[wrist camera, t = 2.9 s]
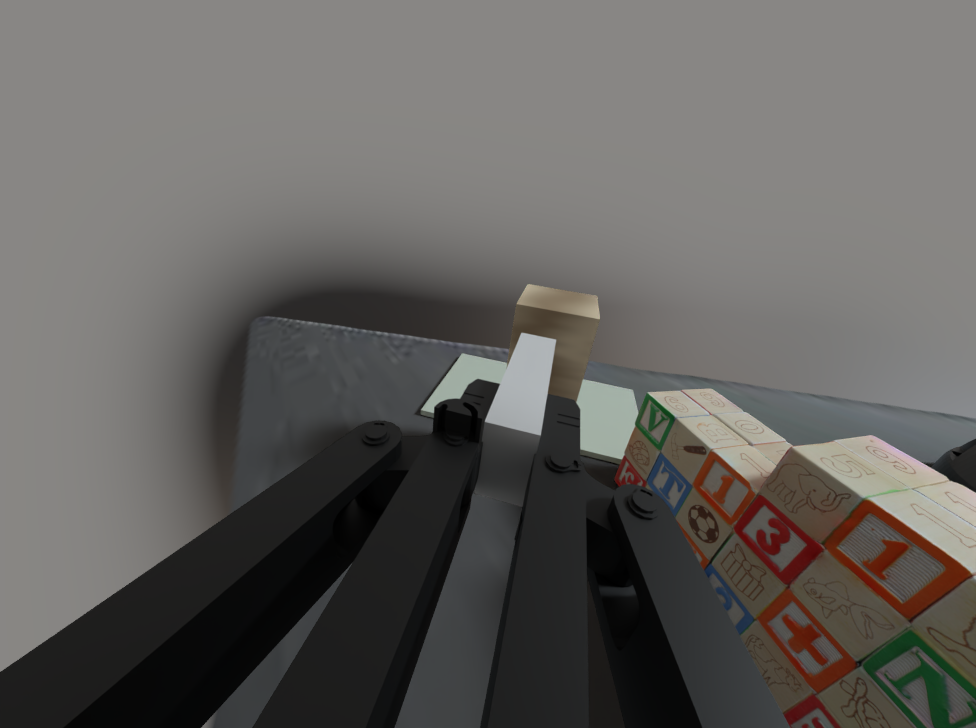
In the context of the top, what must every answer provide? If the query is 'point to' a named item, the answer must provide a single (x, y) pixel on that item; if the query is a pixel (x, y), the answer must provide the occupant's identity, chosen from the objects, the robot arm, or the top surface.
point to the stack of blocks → (823, 561)
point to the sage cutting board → (600, 405)
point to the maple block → (559, 332)
